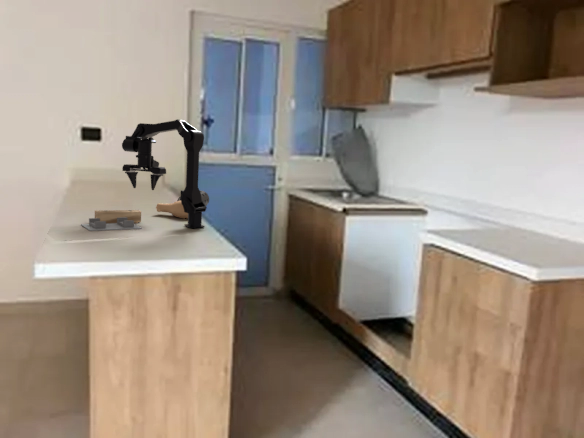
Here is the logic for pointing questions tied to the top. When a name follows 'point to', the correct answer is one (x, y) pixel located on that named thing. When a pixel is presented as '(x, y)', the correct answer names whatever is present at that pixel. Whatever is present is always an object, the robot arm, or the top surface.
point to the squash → (172, 209)
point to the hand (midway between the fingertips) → (143, 189)
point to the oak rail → (118, 215)
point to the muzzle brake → (204, 198)
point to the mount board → (110, 224)
